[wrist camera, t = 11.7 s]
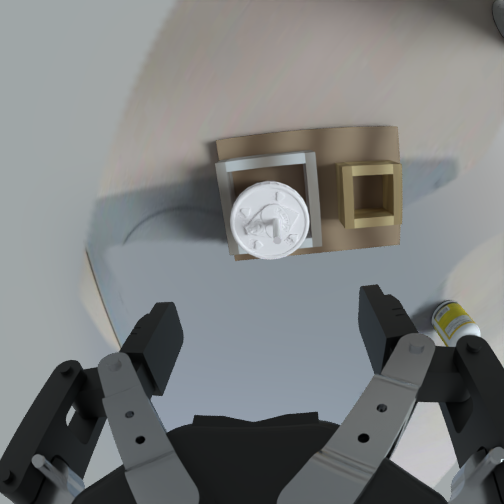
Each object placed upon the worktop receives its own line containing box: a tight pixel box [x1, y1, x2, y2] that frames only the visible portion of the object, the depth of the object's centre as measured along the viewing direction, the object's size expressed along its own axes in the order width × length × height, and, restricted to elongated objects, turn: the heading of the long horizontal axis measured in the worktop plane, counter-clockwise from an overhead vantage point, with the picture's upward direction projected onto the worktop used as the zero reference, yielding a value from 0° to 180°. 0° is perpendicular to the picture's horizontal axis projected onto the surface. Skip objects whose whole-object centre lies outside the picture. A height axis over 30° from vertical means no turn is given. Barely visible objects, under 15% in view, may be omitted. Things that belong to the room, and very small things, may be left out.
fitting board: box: [215, 126, 402, 261], centre depth 32 cm, size 20×14×5 cm
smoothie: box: [230, 180, 309, 259], centre depth 27 cm, size 6×6×14 cm
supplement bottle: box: [432, 300, 480, 347], centre depth 35 cm, size 5×5×10 cm
